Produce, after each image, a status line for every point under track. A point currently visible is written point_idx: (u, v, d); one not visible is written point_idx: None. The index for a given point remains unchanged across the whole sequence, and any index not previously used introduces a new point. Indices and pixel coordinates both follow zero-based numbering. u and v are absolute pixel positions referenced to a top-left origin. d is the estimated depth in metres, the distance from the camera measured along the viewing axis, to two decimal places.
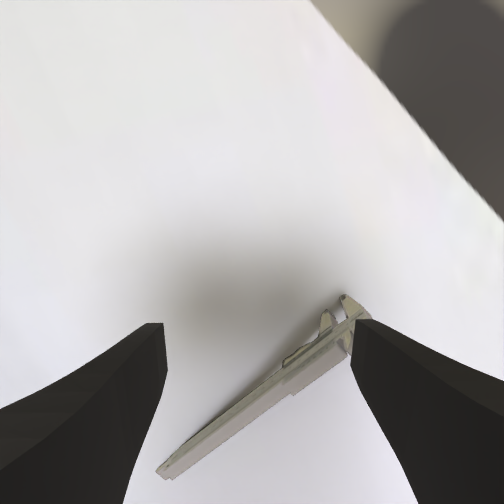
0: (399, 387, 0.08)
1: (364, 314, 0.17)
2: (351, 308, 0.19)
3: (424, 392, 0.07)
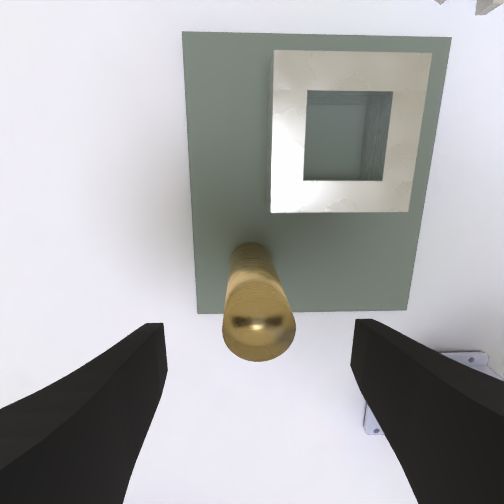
0: (399, 387, 0.08)
1: None
2: None
3: (424, 392, 0.07)
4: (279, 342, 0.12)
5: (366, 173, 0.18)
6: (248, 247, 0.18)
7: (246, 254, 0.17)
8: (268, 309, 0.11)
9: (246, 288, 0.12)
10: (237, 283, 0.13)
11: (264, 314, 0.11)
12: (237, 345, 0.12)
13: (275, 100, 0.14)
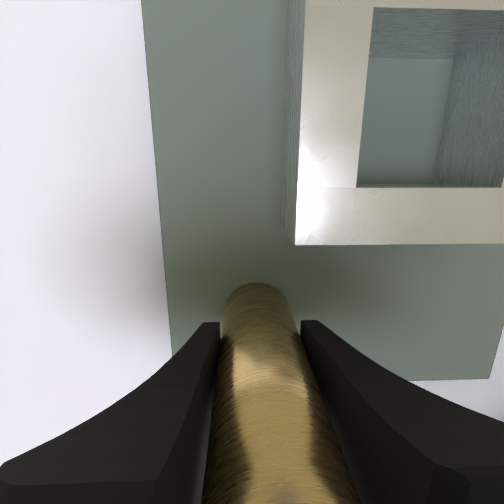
0: (327, 390, 0.08)
1: None
2: None
3: (341, 395, 0.07)
4: None
5: (452, 173, 0.11)
6: (253, 295, 0.11)
7: (251, 315, 0.10)
8: None
9: (254, 467, 0.05)
10: (233, 422, 0.06)
11: None
12: None
13: (309, 28, 0.07)
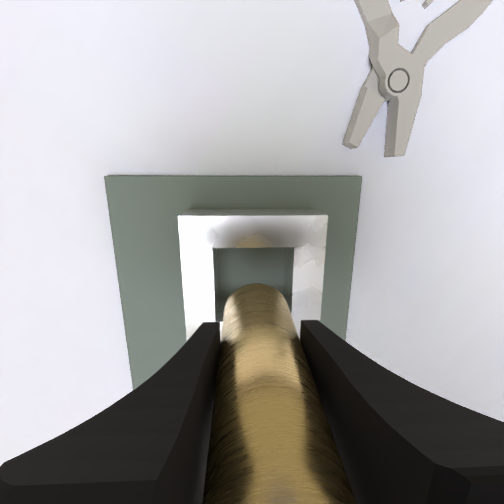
0: (327, 390, 0.08)
1: None
2: None
3: (341, 394, 0.07)
4: None
5: (285, 298, 0.19)
6: (256, 297, 0.11)
7: (254, 317, 0.10)
8: None
9: (261, 469, 0.05)
10: (238, 423, 0.06)
11: None
12: None
13: (183, 257, 0.15)
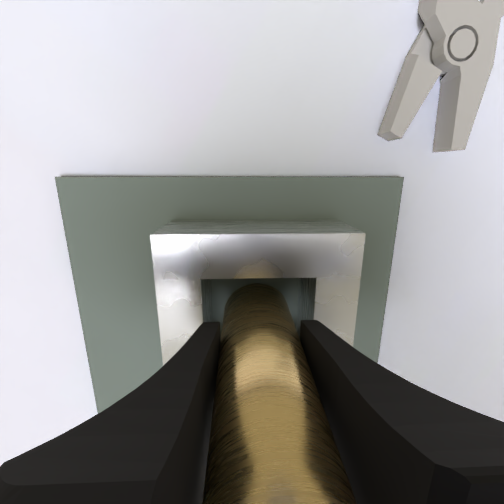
0: (327, 390, 0.08)
1: None
2: None
3: (341, 395, 0.07)
4: None
5: None
6: (256, 296, 0.11)
7: (254, 316, 0.10)
8: None
9: (261, 468, 0.05)
10: (238, 423, 0.06)
11: None
12: None
13: (158, 292, 0.11)
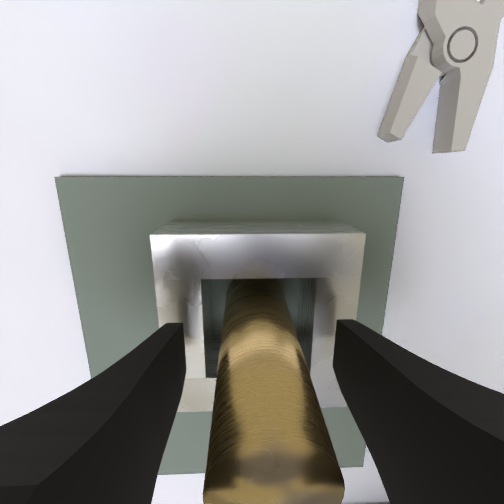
0: (374, 388, 0.08)
1: None
2: None
3: (395, 393, 0.07)
4: None
5: (300, 338, 0.14)
6: (254, 283, 0.13)
7: (252, 299, 0.11)
8: (297, 464, 0.06)
9: (255, 405, 0.06)
10: (238, 377, 0.07)
11: (288, 472, 0.06)
12: None
13: (158, 292, 0.11)
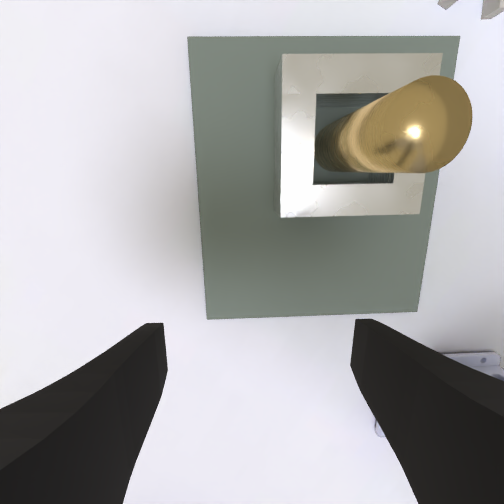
0: (399, 388, 0.08)
1: None
2: None
3: (424, 392, 0.07)
4: (447, 147, 0.10)
5: (375, 175, 0.18)
6: None
7: None
8: (445, 96, 0.09)
9: None
10: (379, 98, 0.11)
11: (438, 103, 0.09)
12: (398, 146, 0.09)
13: (284, 104, 0.14)
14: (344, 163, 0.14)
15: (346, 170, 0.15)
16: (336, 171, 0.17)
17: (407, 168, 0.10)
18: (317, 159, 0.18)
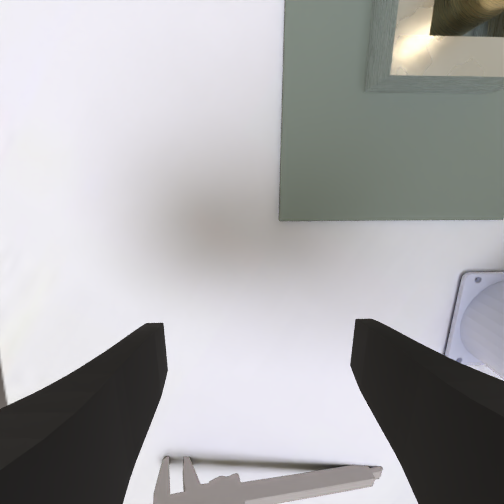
0: (400, 387, 0.08)
1: None
2: None
3: (424, 392, 0.07)
4: None
5: None
6: None
7: None
8: None
9: None
10: None
11: None
12: None
13: None
14: None
15: (472, 16, 0.14)
16: None
17: None
18: None
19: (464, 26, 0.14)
